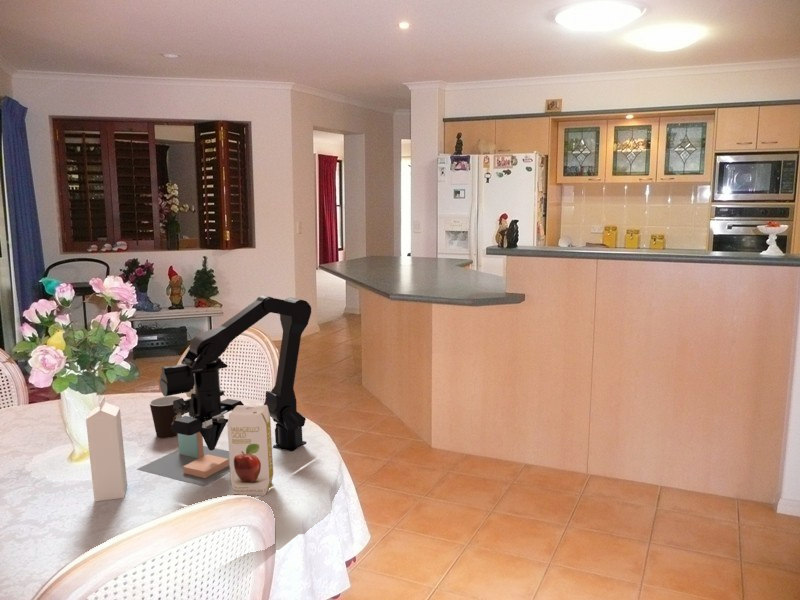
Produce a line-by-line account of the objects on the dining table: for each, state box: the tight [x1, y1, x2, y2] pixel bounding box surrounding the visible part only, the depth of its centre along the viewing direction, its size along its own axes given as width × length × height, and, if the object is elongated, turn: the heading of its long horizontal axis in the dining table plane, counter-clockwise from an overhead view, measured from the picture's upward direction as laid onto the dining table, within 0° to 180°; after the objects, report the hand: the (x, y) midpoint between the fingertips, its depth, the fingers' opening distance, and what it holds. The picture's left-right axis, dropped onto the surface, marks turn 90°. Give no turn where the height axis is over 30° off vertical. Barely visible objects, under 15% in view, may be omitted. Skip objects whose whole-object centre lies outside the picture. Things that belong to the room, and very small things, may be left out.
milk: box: [85, 395, 128, 503], centre depth 137 cm, size 6×6×22 cm
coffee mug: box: [149, 395, 183, 439], centre depth 174 cm, size 12×9×10 cm
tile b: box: [177, 432, 204, 458], centre depth 158 cm, size 7×2×8 cm, turn 63°
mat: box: [136, 445, 230, 487], centre depth 154 cm, size 22×18×1 cm
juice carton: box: [226, 404, 274, 497], centre depth 138 cm, size 8×9×19 cm
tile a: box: [183, 454, 229, 478], centre depth 149 cm, size 7×2×8 cm
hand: (211, 449), depth 151 cm, fingers closed
